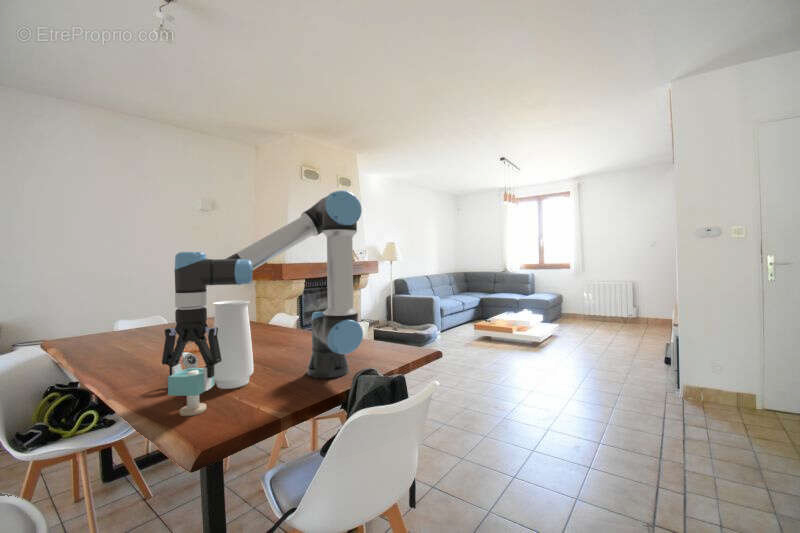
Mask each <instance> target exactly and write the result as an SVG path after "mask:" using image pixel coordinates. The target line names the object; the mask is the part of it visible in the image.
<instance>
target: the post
mask: <svg viewBox="0 0 800 533" xmlns="http://www.w3.org/2000/svg"><path fill="white" fill-rule="evenodd" d="M198 373H199V371H198V370H193V371H188V372H186V375H197V374H198ZM206 411H207V404H206V403H202V402H200V394H199V395H198V396H186V405H185V406H183V407H180V409H179V416H182V417H194V416H197V415H199V414H203V413H204V412H206Z"/></svg>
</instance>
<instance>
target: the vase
mask: <svg viewBox="0 0 800 533" xmlns="http://www.w3.org/2000/svg"><path fill="white" fill-rule="evenodd" d="M250 302H251V301H250V300H248V299H247V300H246V299H244V300H239V299H238V300H223V301H222V300H221V301H215V302H213V303H212V305H213V306H215V307H214V320H213V328H215V327H217V328H218V333H217V338H218V343H219V349H220V354H221V359H222V360H221V362H219V363H217V364H215V365H214V382H215V385H216V388H219V389H220V390H228V389H229V390H230V389H237V388H241V387H244V386H246V385H248V383H250V382H249V381H250V377H251V375H252V374H254V367H255V366H254V355H253V343H252V333H251V324H250V317H249V316H250V315H249V308H248V304H249V303H250Z"/></svg>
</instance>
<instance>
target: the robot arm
mask: <svg viewBox="0 0 800 533" xmlns="http://www.w3.org/2000/svg"><path fill="white" fill-rule="evenodd" d="M362 211H363V210H362V204H361V202H360V200H359V198H358V197H357V196H356V195H355V194H353V193H352V192H350V191H347V190H341V189H340V190H336V191H333V192H331V193H329V194H328V195H327V196H324V197H322V198H321V199H319V200H318V201H317V202H316V203H315V204H314V205H312V206H311V207H310V208H308V209H307V210H305V211H302V213H301V214H300V217H298V218H297V219H295V220H293V221H291V222H290V223H287V224H286V225H284V226H282V227H281V228H278V229H277V230H275V231H273V232H271V233H270V234H268V235H266V236H264V237H262V238H261V239H258V240H257V241H256V242H253V243H252V244H249V245H248V246H246V247H245V248H243V249H240V250H239V251H237V252H236V253H234V254H232V255H230V256H229V257H227V258H223V259H222V258H218V259H217V258H215V259H212V258H207V254H206V252H202V251H180V252H177V253H176V254H175V256H174V257H175V258H174V289H175V291H174V292H175V293H174V307H175V308H177V309H176V310H175V312H174V314H175V315H174V317H175V318H174V319H175V323H176V325H175V327H169V328H165V329H164V336H165V340H164V346H163V353H162V357H161V358H162V359H161V364H162V365H163V366H164V365H165V366H168V368H169V376H171V375H173V374H175V373H177V372H180V371H181V368H182V364H181V362H180V360H181V358H182V353H184V350H185V349H186V346H187V343H188V342H193V343H194V344H195V345H196V346H197V347H198V351H199V352H200V354H201V357H202V359H203V362H204V364H205V366H203V367H202V368H203V380H204V392H206V391H209V390H210V389H212V388H213V386H212V377H213V376H214V365H215V364H217V363H219V362H221V360H222V359H221V354H220V349H219V343H218V338H217V333H218V328H217V327H215V328H214V327H210V326H208V324H207V320H208V310H207V307H206V306H207V304H208V303H207V302H208V301H207V298H208V297H207V286H233V285H234V286H236V285H238V286H241V285H249V284H251V283H252V280H253V275H254V274H253V273H254V272H253V271H254V270H256V269H257V268H259V267H261V266H262V265H265V264H266V263H268V262H269V261H271V260H272V259H274V258H277V257H278V256H280V255H281V254H282V253H284V252H286V251H287V250H290V249H292V248H294V247H295V246H296V245H298V244H300V243H302V242H304V241H305V240H307V239H309V238H311V237H312V236H313V237H318V235H320V234H323V235H324V236H325V237H326V264H327V265H326V269H327V270H326V273H327V277H326V279H327V280H326V281H327V284H326V285H327V289H326V290H327V308H326V309H325V310H323V311H314V312H312V315H311V320H310V322H311V349H312V351H311V356H310V359H309V362H308V365H307V375H308V376H309V377H310V378H315V379H332V378H333V379H335V378H338V377H342V376H344V375H347V374H348V373H349V372H350V365H349V361H348V358H347V356H346V355H348V354H351V353H353V352H355V351H356V350H357V349H358V348H359V347H360V345H361V344H362V341H363V338H364V331H363V330H364V329H363V328H362V326H361V324H360V323H359V312H358V310H356V309H355V307H354V268H353V267H354V264H353V262H354V259H353V257H354V256H353V255H354V254H353V253H354V252H353V248H354V247H353V238H354V235H356V233H358V223H357V222H358V221H359V220H360V218H361V216H362ZM205 334H206V335H207V338H206V335H205ZM176 335H178V336H176ZM176 338H177V340H176ZM207 340H208V342H207ZM175 343H176V344H175ZM179 363H180V365H177V364H179Z"/></svg>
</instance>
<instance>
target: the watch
mask: <svg viewBox="0 0 800 533" xmlns="http://www.w3.org/2000/svg"><path fill="white" fill-rule="evenodd" d="M181 358H182V364H183V366H184V367H186V368H198V364H199V358H198V357H197V355H195V354H194V353H191V352H188V351H185V352H184V351H183V353H182V355H181ZM177 365H181V362H180V363H179V364H177ZM182 370H183V367H181V371H182Z"/></svg>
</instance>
